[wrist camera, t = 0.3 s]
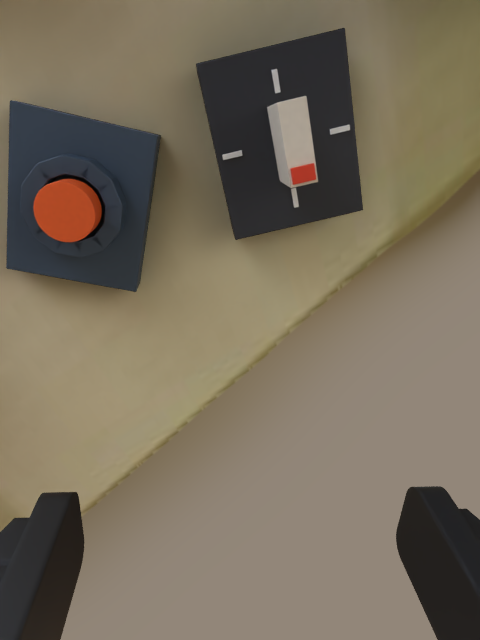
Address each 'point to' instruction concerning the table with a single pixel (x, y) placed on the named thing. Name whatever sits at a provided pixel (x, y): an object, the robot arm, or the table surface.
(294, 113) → the white rectangular block
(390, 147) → the table surface
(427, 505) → the robot arm
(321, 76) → the dial panel
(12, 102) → the switch block
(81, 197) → the button
